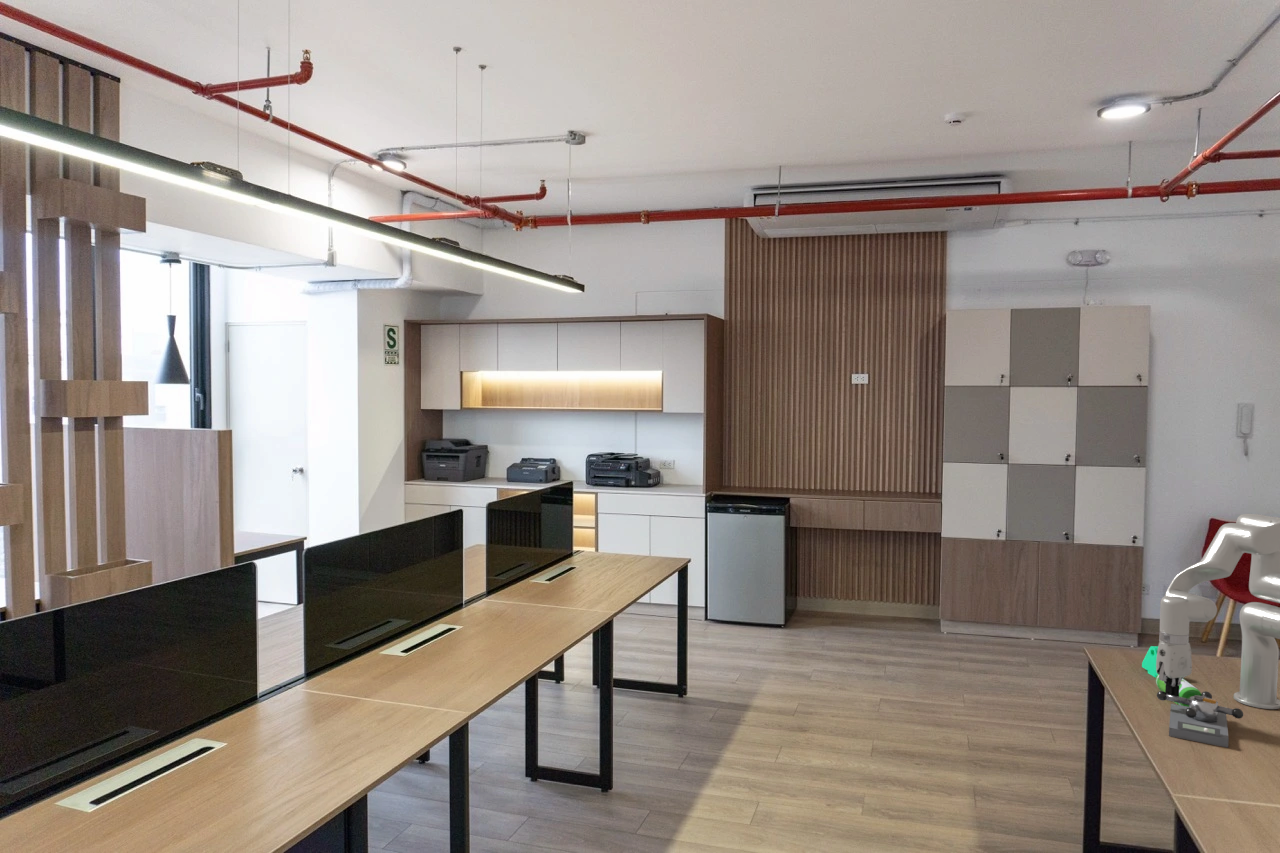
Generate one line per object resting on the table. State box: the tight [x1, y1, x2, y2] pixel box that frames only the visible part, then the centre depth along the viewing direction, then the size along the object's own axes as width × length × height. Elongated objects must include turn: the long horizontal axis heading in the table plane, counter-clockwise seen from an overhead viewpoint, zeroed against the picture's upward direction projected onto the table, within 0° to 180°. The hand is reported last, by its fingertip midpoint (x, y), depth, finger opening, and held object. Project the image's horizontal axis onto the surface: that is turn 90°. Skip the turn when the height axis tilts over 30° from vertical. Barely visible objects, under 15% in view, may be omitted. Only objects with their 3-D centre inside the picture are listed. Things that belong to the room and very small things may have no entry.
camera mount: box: [1141, 645, 1159, 679], centre depth 297 cm, size 12×8×10 cm, turn 179°
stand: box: [1168, 703, 1229, 748], centre depth 251 cm, size 22×14×5 cm, turn 147°
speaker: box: [1155, 674, 1202, 707], centre depth 273 cm, size 18×7×8 cm, turn 172°
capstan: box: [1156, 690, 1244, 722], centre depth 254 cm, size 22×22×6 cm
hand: (1171, 697), depth 261 cm, fingers closed
